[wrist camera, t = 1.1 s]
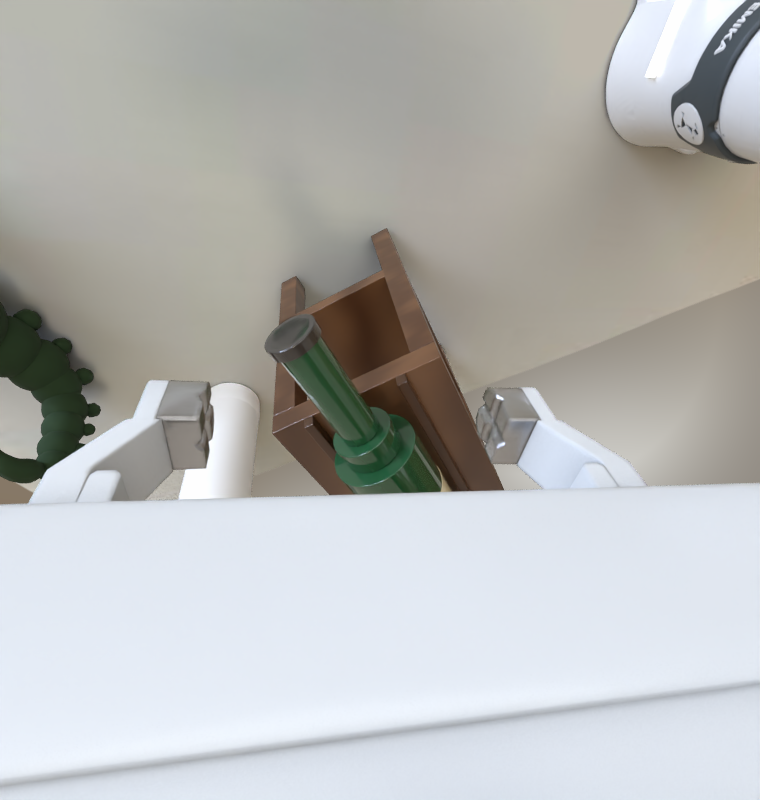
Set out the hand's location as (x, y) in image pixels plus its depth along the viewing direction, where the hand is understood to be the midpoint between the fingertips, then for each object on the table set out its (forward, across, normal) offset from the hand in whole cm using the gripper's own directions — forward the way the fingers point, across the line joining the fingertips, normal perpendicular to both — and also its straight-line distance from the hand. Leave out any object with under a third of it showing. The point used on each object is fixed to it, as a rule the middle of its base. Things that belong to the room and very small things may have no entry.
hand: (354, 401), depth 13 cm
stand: (+41, -8, +20) cm, 47 cm away
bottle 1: (+42, +10, +35) cm, 55 cm away
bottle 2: (+15, -5, +16) cm, 23 cm away
